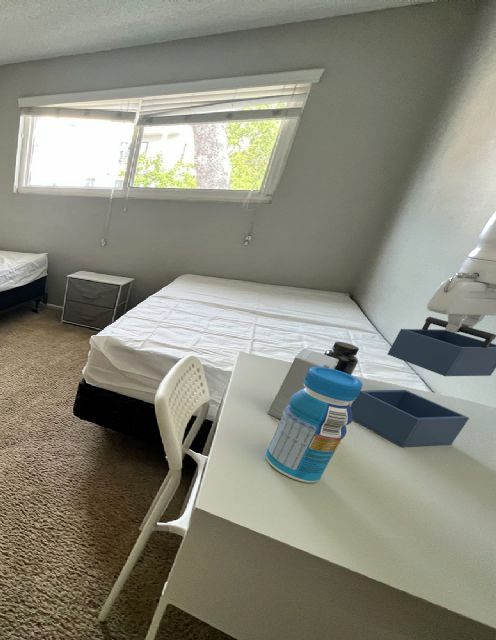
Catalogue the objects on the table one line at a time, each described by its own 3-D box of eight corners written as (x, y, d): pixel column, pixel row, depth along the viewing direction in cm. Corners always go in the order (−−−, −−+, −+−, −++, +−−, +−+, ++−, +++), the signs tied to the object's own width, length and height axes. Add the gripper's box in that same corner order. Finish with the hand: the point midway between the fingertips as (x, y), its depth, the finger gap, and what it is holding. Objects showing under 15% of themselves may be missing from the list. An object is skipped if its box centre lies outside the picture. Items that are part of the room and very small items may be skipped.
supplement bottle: (306, 378, 101) (323, 340, 97) (322, 375, 103) (339, 339, 99) (334, 390, 95) (354, 351, 91) (350, 388, 97) (370, 349, 93)
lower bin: (390, 414, 86) (405, 389, 83) (451, 444, 76) (469, 417, 73) (345, 415, 84) (358, 390, 81) (401, 447, 74) (418, 419, 71)
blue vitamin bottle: (258, 463, 66) (298, 371, 59) (269, 445, 71) (308, 359, 64) (316, 492, 60) (369, 394, 53) (324, 470, 65) (373, 378, 58)
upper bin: (428, 354, 90) (451, 317, 87) (490, 375, 80) (518, 334, 77) (386, 354, 88) (407, 316, 85) (444, 376, 78) (471, 334, 75)
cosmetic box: (275, 403, 87) (300, 346, 81) (312, 417, 82) (341, 358, 76) (265, 414, 82) (291, 354, 76) (304, 430, 77) (334, 368, 71)
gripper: (475, 275, 72) (439, 336, 77) (549, 279, 75) (510, 337, 80) (435, 268, 78) (404, 325, 83) (505, 272, 81) (471, 326, 86)
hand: (456, 331), depth 81 cm, fingers closed on upper bin
